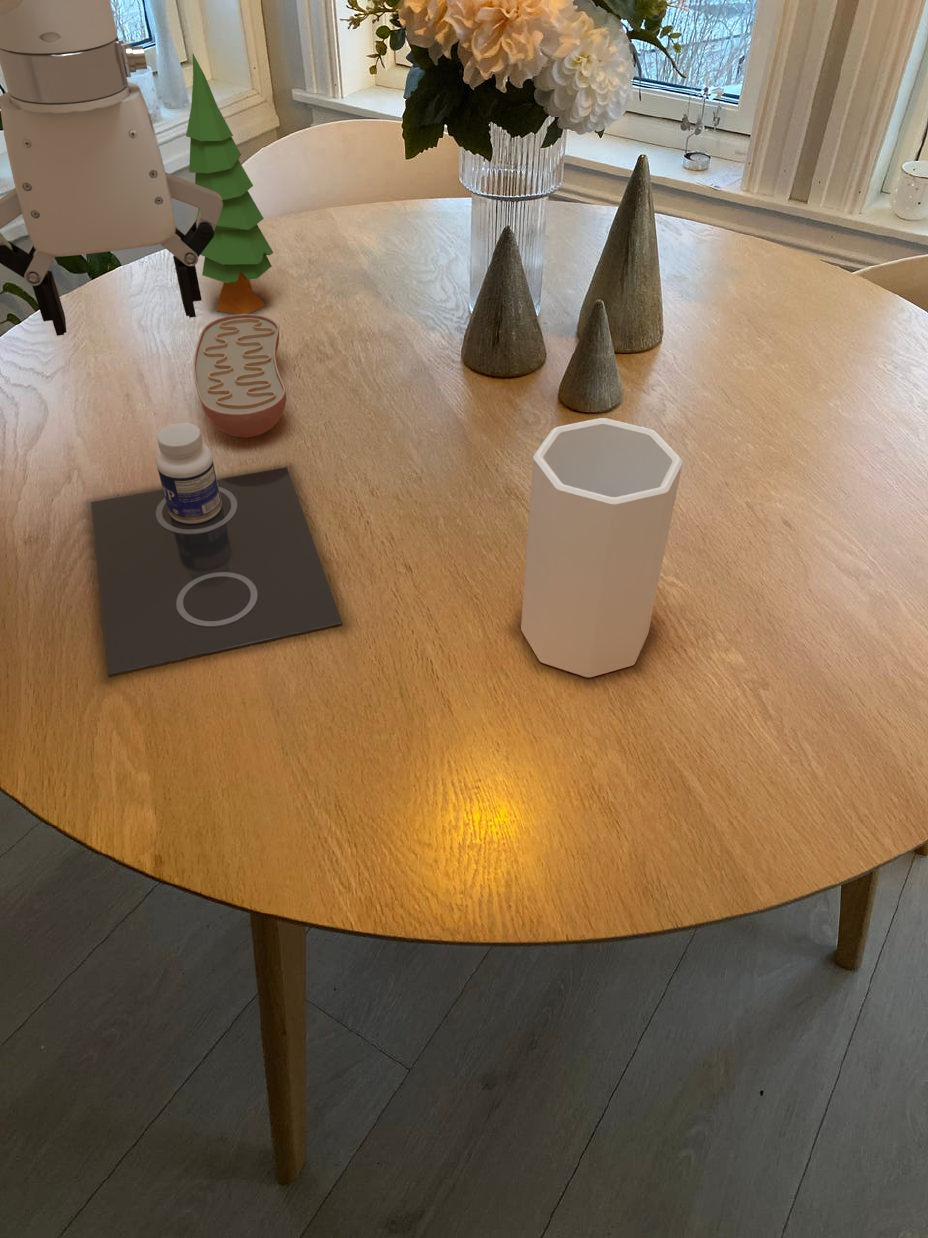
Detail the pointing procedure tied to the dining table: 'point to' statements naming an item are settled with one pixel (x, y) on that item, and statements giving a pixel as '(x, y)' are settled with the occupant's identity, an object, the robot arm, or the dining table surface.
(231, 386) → the anatomical model
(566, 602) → the cup
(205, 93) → the decorative tree
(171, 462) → the pill bottle
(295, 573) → the hob
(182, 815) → the dining table surface
